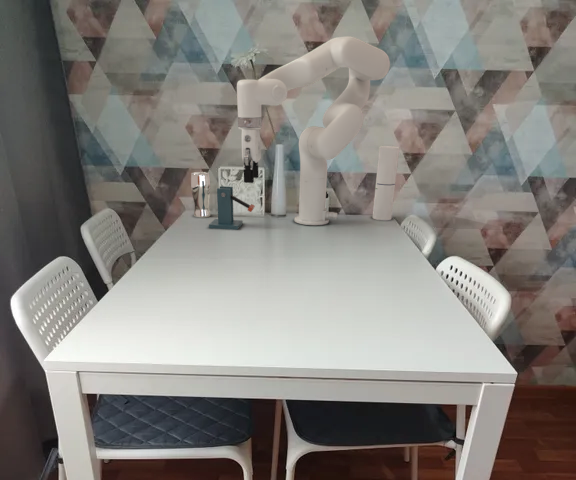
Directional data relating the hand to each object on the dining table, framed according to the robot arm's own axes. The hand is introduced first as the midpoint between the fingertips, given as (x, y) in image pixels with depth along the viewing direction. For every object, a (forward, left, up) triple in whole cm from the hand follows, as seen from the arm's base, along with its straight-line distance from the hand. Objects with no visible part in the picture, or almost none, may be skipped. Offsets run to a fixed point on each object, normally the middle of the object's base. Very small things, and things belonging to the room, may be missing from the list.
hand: (251, 180), depth 183 cm
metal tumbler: (+21, -14, -16) cm, 30 cm away
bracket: (+9, 0, -16) cm, 18 cm away
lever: (+5, 0, -8) cm, 9 cm away
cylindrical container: (-46, -25, -16) cm, 55 cm away
